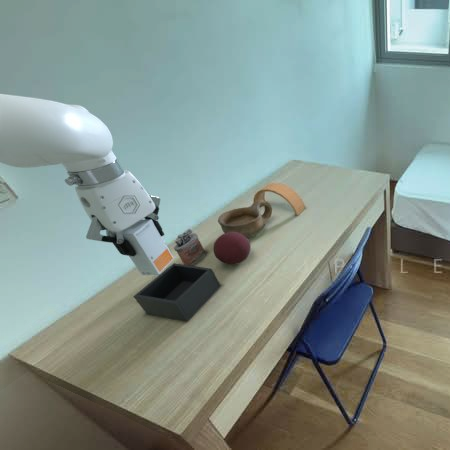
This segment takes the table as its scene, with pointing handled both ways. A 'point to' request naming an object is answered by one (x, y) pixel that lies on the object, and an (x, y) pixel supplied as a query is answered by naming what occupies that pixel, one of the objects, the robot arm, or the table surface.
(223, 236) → the decorative ball
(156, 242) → the cosmetic box
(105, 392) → the table surface
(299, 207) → the arch
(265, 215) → the bowl
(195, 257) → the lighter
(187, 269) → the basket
